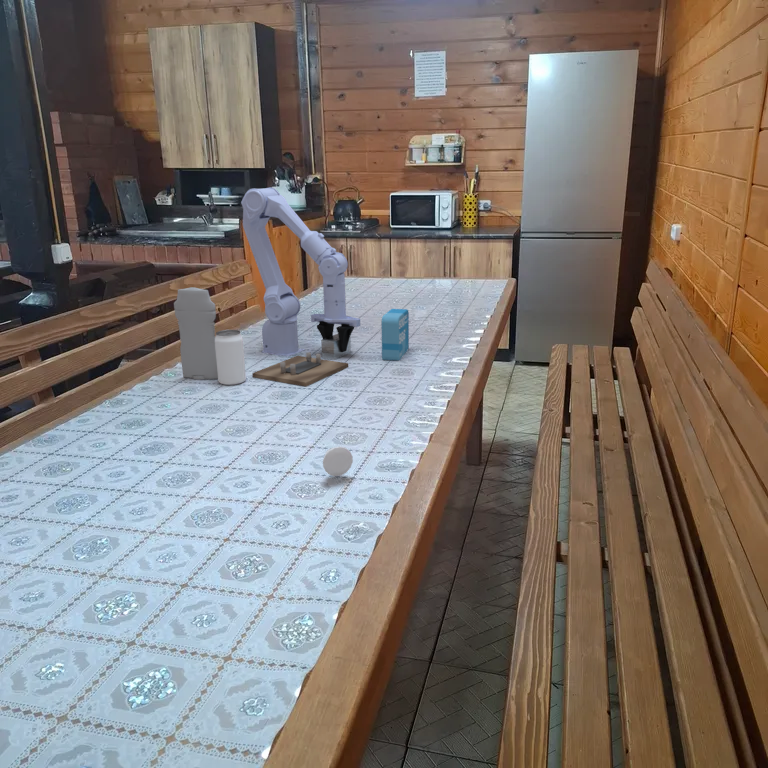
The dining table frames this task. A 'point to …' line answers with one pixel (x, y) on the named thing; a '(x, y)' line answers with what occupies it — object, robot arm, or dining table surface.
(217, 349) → the can
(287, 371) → the pin tray
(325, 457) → the grey oval shape
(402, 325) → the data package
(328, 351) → the block
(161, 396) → the dining table surface
